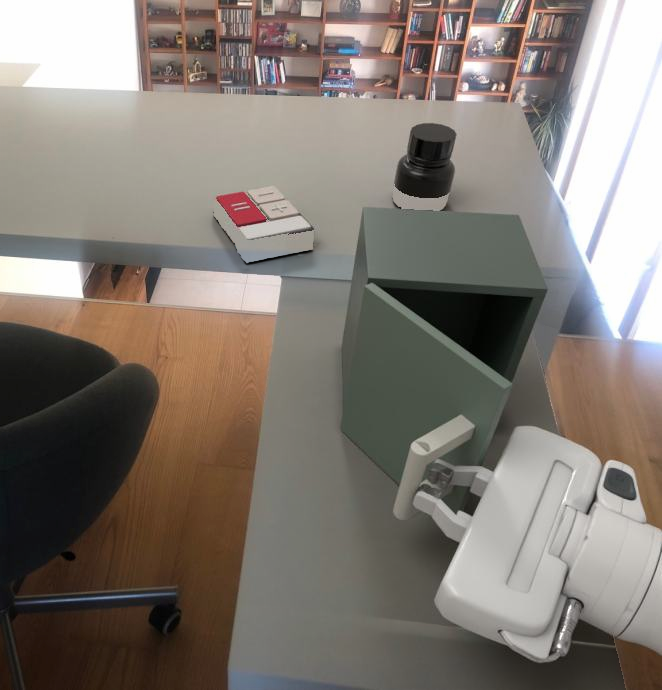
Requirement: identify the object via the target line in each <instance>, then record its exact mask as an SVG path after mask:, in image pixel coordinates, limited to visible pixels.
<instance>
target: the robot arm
mask: <svg viewBox="0 0 662 690" xmlns="http://www.w3.org/2000/svg"><path fill="white" fill-rule="evenodd" d="M427 480H428V482H430V483H431V484H436V485H437V486H438V487H440V488H442V489H444V490H446V488H447V487H448V485H449V484H450V485H459V486H469V487H471V489H470V492H471V493H470V494H473V495H475V496H478V497H480V500H479V502H478V504H477V506H476V508H475V511H474V512H473V515H471V514H468V513H467V512H465V511H463V512H462V511H458V512H457V514H456V515H455V514H454V513H453V511H452V510H451V509H450V508H449V507H448V506H447V505H446V504H445V503H444V502H443V501H442V500H441V499H440V497H441V494H442V491H440V490H438V489H436V488H431V486H430V485H427V484H422V485H421V487H420V488H419V490H418V492H417V494H416V495H415V498H414V501H413V506H414V507H415V508H417V509H419V510H421V511H420V512H423V513H425V514H427V515H429V516H430V515H431V516H432V517H431V516H430V517H431V519H432V520H433V521H434V523H435V524H436V525H437V526H438V527H439V528H440V530H441V531H442V532H443V534H444V535H445V536H446V538H449V539H451V540H453V541H455V542H457V543H459V544H458V546H457V548H456V551H455V553H454V554H453V557H452V560H451V561H450V563H449V566H448V567H447V570H446V572H445V574H444V576H443V577H442V580H441V582H440V585H439V586H438V589H437V591H436V594H435V596H434V601H433V602H434V605H435V607H436V608H437V610H438V612H439V613H440V615H441V616H442V618H444V619H445V620H447V621H449V622H450V623H452V624H454V625H457V626H458V627H461V628H463V629H465V630H467V631H470V632H472V633H474V634H477V635H479V636H481V637H484V638H486V639H488V640H491V641H493V642H496V643H499V644H501V645H505V646H507V647H509V648H510V649H511V650H512V651H514V652H515V653H517V654H520V655H521V656H523V657H525V658H527V659H528V660H530V661H533V662H535V663H538V664H543V663H544V664H545V663H546V664H547V663H552V662H554V661H556V660H558V659H559V658H560V657H566V655H567V654H568V653H569V651H570V648H571V646H572V636H573V634H574V631H575V629H576V627H577V625H578V623H579V620H580V621H583V622H585V623H587V624H589V625H591V626H593V627H595V628H597V629H599V630H601V631H603V632H605V633H606V634H609V635H610V636H613V637H614V638H616V639H618V640H621V641H624V642H627V643H628V642H629V643H633V644H636V645H640V646H643V647H645V648H646V649H647V648H648V649H649V650H652V651H654V652H655V653H657V654H658V655H660V656H661V657H662V529H660V528H659V527H656V526H654V525H652V524H650V523H647V514H646V512H645V509H644V506H643V503H642V499H641V495H640V490H639V486H638V480H637V475H636V472H635V470H634V469H633V468H632V467H631V466H630V465H628V464H626V463H624V462H621V461H618V460H614V459H609V460H607V461H606V462H605V464H604V465H603V464H602V462H601V460H600V458H599V457H598V456H597V455H596V453H594V452H593V451H591V450H590V449H588V448H587V447H586V446H583V445H581V444H579V443H576V442H574V441H572V440H570V439H568V438H566V437H563V436H561V435H559V434H556V433H553V432H551V431H549V430H546V429H544V428H541V427H538V426H534V425H519V426H516V427H514V428H513V430H512V432H511V435H510V436H509V439H508V441H507V442H506V445H505V447H504V449H503V451H502V454H501V456H500V457H499V460H498V462H497V464H496V466H495V468H494V469H493V470H491V469H488V468H486V467H485V466H482V465H481V466H454V465H452V464H449V463H447V462H445V461H443V460H440V459H436V460H435V462H434V463H433V465H432V467H431V469H430V471H429V474H428V477H427ZM550 652H552V653H551V654H550ZM549 654H550V655H549Z"/></svg>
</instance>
